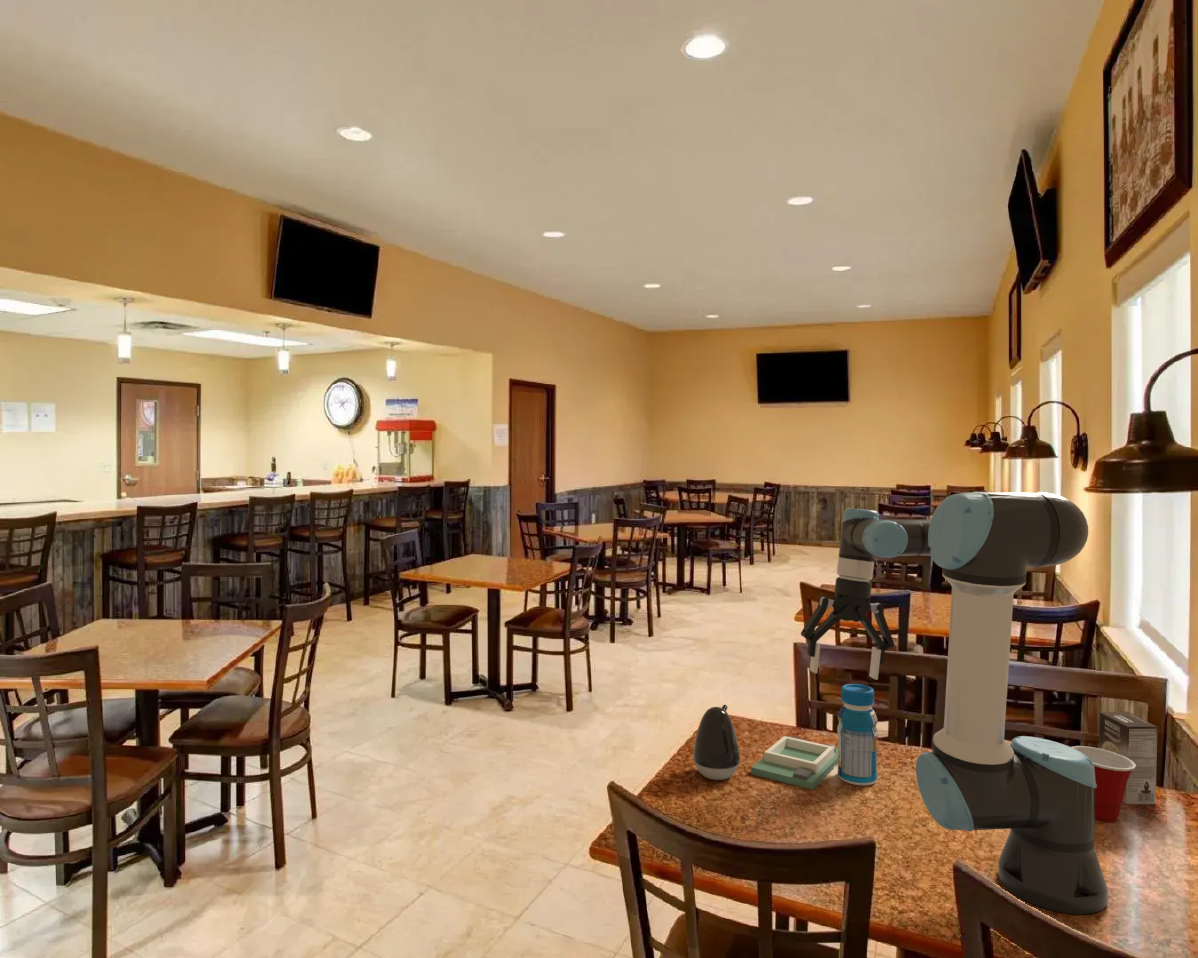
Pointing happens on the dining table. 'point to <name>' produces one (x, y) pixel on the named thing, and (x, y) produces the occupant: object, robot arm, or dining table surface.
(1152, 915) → the dining table surface
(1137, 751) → the coffee box
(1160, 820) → the dining table surface
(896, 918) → the dining table surface
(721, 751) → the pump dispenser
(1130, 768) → the plastic cup
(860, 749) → the beverage bottle
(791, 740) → the board
